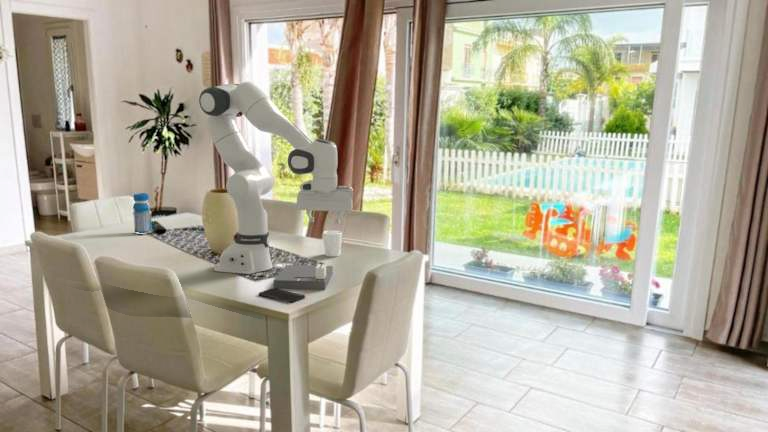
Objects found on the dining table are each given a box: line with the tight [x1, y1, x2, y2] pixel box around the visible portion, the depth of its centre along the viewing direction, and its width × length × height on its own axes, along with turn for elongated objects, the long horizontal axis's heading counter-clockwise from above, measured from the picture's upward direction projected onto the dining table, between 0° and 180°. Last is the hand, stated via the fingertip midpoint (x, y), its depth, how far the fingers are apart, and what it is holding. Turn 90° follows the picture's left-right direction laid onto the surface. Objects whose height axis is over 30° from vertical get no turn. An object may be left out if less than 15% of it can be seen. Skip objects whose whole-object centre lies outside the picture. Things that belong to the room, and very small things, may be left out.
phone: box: [258, 287, 306, 304], centre depth 192 cm, size 8×1×15 cm
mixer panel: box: [273, 264, 334, 291], centre depth 210 cm, size 18×20×3 cm
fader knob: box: [316, 263, 327, 279], centre depth 203 cm, size 3×5×4 cm, turn 177°
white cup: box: [322, 230, 343, 258], centre depth 248 cm, size 8×8×10 cm
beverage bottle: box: [132, 192, 153, 233], centre depth 286 cm, size 8×8×20 cm
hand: (324, 222), depth 209 cm, fingers open, 8 cm apart
